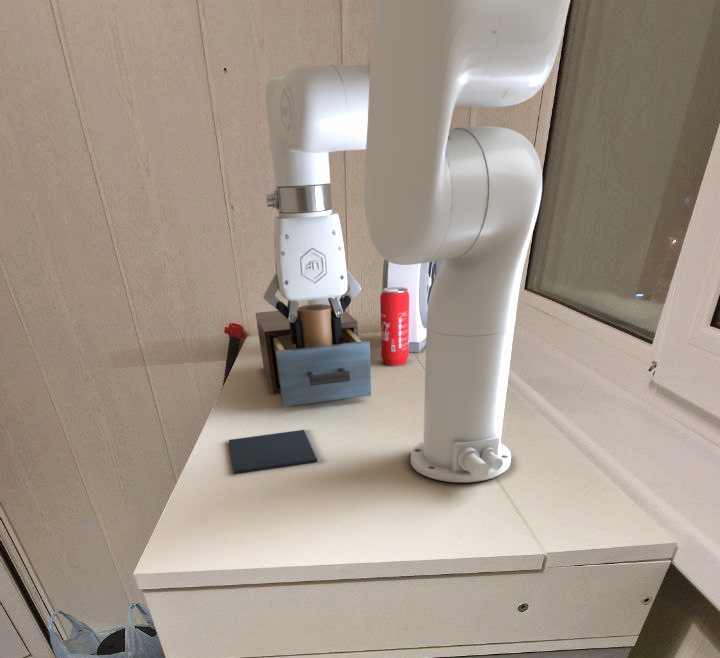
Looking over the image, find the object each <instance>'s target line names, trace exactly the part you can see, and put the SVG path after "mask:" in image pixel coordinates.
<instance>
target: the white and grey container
mask: <svg viewBox="0 0 720 658" xmlns="http://www.w3.org/2000/svg"><path fill="white" fill-rule="evenodd" d="M383 259H384V258H383ZM441 263H442V260H440V261H434V262H427V263H419V264H412V265H399V264H394V263H391V262H389V261H387V260H385V259H384V260H383V267H382V282H381V283H382V286H381V288H382V289H385V288H392V287H403V288H407V289H408V293H409V353H420V352H421V351H422V350H423V349H424V348H425V347H426V332H427V309H428V302H429V297H430V292H431V289H432V286H433V283H434V280H435V277H436V275H437V272H438V270H439V268H440V265H441ZM382 289H381V290H382Z"/></svg>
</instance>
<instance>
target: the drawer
mask: <svg viewBox="0 0 720 658" xmlns="http://www.w3.org/2000/svg"><path fill="white" fill-rule="evenodd" d="M358 337H359V336H358ZM358 337H357V336H356V335H355V334H354V333H353V332H352V331H351V330H350V329H349V328H344V329H342V339H339V344H335V345H326V346H318V347H309V348H300V349H297V348H296V344H292V341H291V334H289V335H280V336H271V341H272V349H273V356H274V363H275V370H276V377H277V380H278V383H279V385H280V389H281V393H280V395H281V404H282V406H283V407H293V406H300V405H307V404H316V403H325V402H330V401H331V402H332V401H339V400H346V399H354V398H355V399H356V398H362V397H369V396H370V397H371V396H372V376H371V374H372V373H371V345H370V342H369V341H368V340H363V341H362V339H360V338H358Z"/></svg>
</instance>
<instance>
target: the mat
mask: <svg viewBox="0 0 720 658" xmlns="http://www.w3.org/2000/svg"><path fill="white" fill-rule="evenodd" d="M228 445H229V452H230V457H231V464H232V470H233V474H241V473H248V472H255V471H256V472H257V471H262V470H269V469H275V468H283V467H291V466H296V465H297V466H298V465H304V464H310V463H317V462H318V458H317V456H316V453H315V452H314V449H313V447H312V444H311V442H310V440H309V438H308V435H307V433H306V431H305V429H300V430H292V431H285V432H284V431H283V432H277V433H269V434H263V435H256V436H255V435H254V436H247V437H241V438H240V437H239V438H233V439H228Z"/></svg>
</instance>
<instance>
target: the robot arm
mask: <svg viewBox="0 0 720 658" xmlns="http://www.w3.org/2000/svg"><path fill="white" fill-rule="evenodd" d="M375 3H376V4H375V8H374V16H373V21H372V34H371V35H372V36H371V47H370V52H369V54H368V59H367V61H366V64H327V65H326V64H305V65H304V64H303V65H298V66H296V67H293V68H292V69H291V70H290V71H288V72H287V74H286V75H280V76H277V77H273V78H271V79H270V80H269V81H268V82H267V83H266V86H265V91H264V92H265V93H264V95H265V106H266V116H267V124H268V125H267V126H268V133H269V141H270V142H269V143H270V151H271V159H272V168H273V176H274V177H273V178H274V186H275V187H274V190H273V192H271V193H269V194H266V195H265V200H266V207H267V208H269V207H270V208H271V207H272V208H273V209H274V208H275V210H277V212H278V215H277V216H274V221H273V222H274V223H273V237H274V238H273V248H274V249H273V250H274V260H275V261H274V264H275V265H274V266H275V273H274V275H273V276H272V278H271V280H270V282H269V283H268V286H267V288H266V289H265V291H264V293H263V295H262V296H263V299H264V301H265V302H267V303H268V304H269V305H270V306H272V307H274V308H275V309H276V311H279V312H280V313H281V314H283V315H284V316H285V317H286V318H287V319H288V320H289V325H290V333H291V341H292V344H296V348H297V349H300V348H303V346H302V336H301V326H300V322H299V321H298V317H297V311H298V308H299V305H300V304H299V303H300V302H301V301H307V300H313V299H323V298H328V301H329V303H330V306H331V309H332V311H331V318H332V332H333V345H335V344H339V339H342V329H341V317H342V315H343V312H344V311H347V308H348V307H349V306H350V304H351V303H352V302H353V300H355V298H356V297H357V295H359V294H360V292H361V290H362V287H361V286H360V284H359V282H357V280H356V279H355V277H353V276H352V274H351V272H350V271H349V270H348V269H347V263H346V252H345V244H344V238H343V233H342V232H343V231H342V226H341V220H340V216H339V213H338V212H333V205H332V189H331V173H330V157H329V153H335V152H342V151H343V152H344V151H363V150H365V163H364V187H363V188H364V189H363V191H364V193H363V194H364V195H363V197H364V198H363V200H364V217H365V222H366V228H367V233H368V235H369V238H370V242H371V243H372V245H373V247H374V249H375V250H376V252H377V253H378V255H379V256H380V257H382V258H383V259H385V260H387V261H389V262H391V263H394V264H399V265H412V264H419V263H427V262H434V261H440V260H442V263H441V265H440V268H439V270H438V272H437V275H436V277H435V280H434V283H433V286H432V289H431V292H430V297H429V302H428V309H427V332H426V345H425V364H424V365H425V367H424V369H425V371H424V372H425V374H424V405H423V408H424V409H423V441H421V442H420V443H418V444H417V445H416V446H415V447H413V448H412V450H411V452H410V464H411V466H412V468H413V469H414V470H415V471H416V472H417V473H419V474H420V475H421V476H424V477H427V478H429V479H432V480H437V481H442V482H448V483H477V482H482V481H487V480H490V479H494V478H496V477H498V476H500V475H502V474H503V473H505V472H507V470H508V469H509V468H510V466H511V462H512V461H511V459H512V453H511V451H510V450H509V448H508V447H507V446H506V445H504V444H503V443H501V438H502V430H503V422H504V415H505V414H504V413H505V405H506V398H507V390H508V381H509V372H510V365H511V355H512V348H513V341H514V340H513V339H514V333H515V332H514V331H515V325H516V318H517V317H516V316H517V309H518V301H519V295H520V289H521V281H522V277H523V276H522V275H523V272H524V267H525V266H524V265H525V262H526V257H527V253H528V249H529V247H530V246H529V245H530V243H531V239H532V236H533V231H534V229H535V225H536V222H537V218H538V215H539V209H540V207H541V205H540V204H541V200H542V195H543V194H542V192H543V172H542V165H541V160H540V158H539V155H538V152H537V150H536V148H535V147H534V145H533V143H532V142H531V141H530V140H528V138H527V137H526V136H524V135H523V134H521V133H520V132H518V131H516V130H513V129H510V128H507V127H502V126H466V127H454V128H451V123H452V118H453V113H454V110H455V109H480V108H481V109H485V108H503V107H510V106H514V105H519V104H521V103H524V102H525V101H528V100H530V99H532V98H533V97H534V96H535V95H536V94H537V93H538V92H539V91H540V90H541V89H542V88H543V87H544V85H545V84H546V82H547V80H548V78H549V76H550V74H551V72H552V69H553V67H554V64H555V61H556V58H557V55H558V52H559V48H560V45H561V40H562V38H563V34H564V29H565V25H566V22H567V21H566V20H567V16H568V14H569V13H568V12H569V8H570V4H571V0H376V2H375ZM277 292H279V294H280V295H281V297H282V298H283V299H284V300H287V305H286V304H285V303H284V302H283V301H282V300H280V299H279V298H278V297H277V296H276V294H277ZM338 296H341V298H340V300H339V299H338Z"/></svg>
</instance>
